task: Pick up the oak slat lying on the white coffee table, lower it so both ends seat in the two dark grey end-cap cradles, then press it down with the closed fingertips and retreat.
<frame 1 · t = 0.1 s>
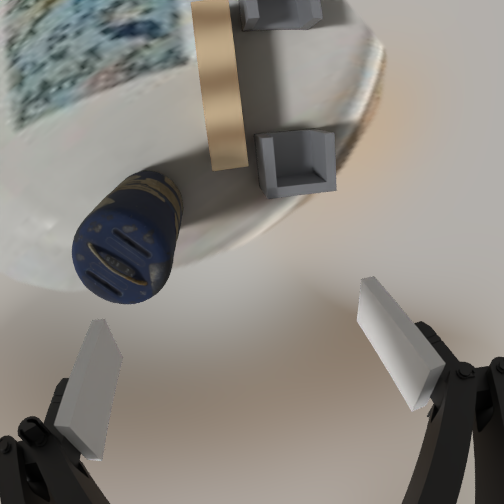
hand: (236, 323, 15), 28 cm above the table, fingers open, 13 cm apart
slat: (217, 84, 34), on the table
canister: (149, 203, 40), on the table
endcap b: (288, 157, 39), on the table
endcap a: (272, 6, 30), on the table
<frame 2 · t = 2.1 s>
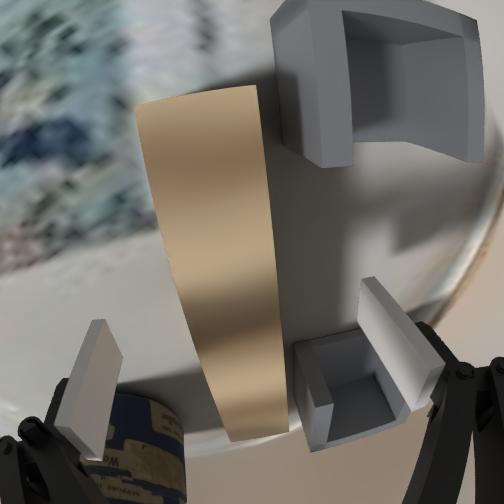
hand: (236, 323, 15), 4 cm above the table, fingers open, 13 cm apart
slat: (227, 268, 19), on the table
canister: (134, 413, 25), on the table
endcap b: (342, 361, 24), on the table
endcap a: (351, 79, 14), on the table
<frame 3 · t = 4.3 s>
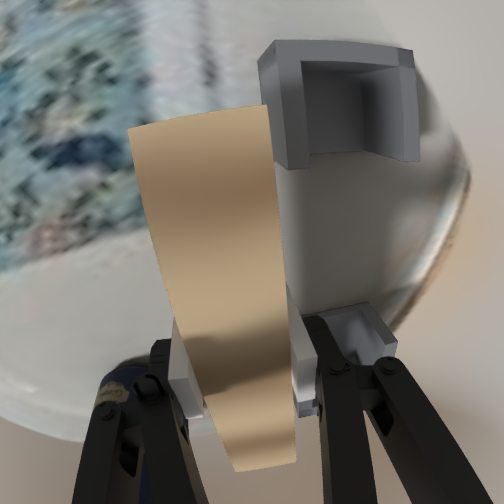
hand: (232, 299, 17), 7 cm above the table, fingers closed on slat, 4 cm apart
slat: (232, 297, 18), point 7 cm above the table, touching gripper
canister: (144, 389, 29), on the table
endcap b: (325, 339, 29), on the table
endcap a: (320, 104, 20), on the table
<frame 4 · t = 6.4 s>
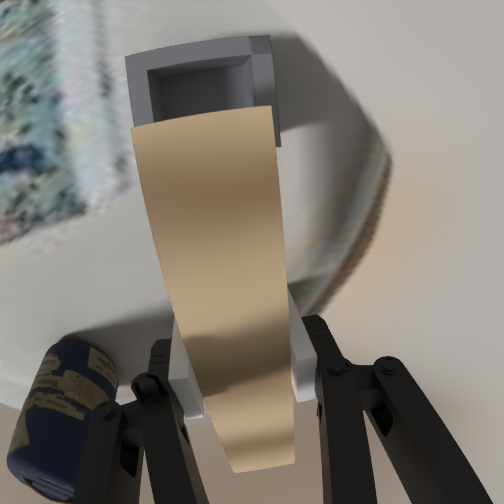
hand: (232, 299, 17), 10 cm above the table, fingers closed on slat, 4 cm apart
slat: (232, 298, 18), point 10 cm above the table, touching gripper
canister: (84, 363, 31), on the table
endcap a: (204, 100, 21), on the table
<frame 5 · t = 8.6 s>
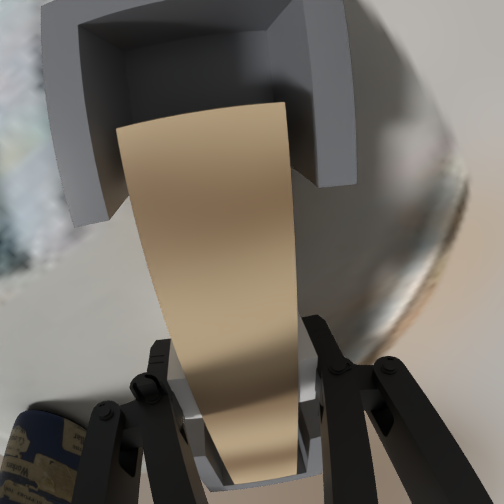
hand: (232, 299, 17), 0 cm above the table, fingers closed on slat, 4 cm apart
slat: (233, 307, 16), point 1 cm above the table, touching endcap a, endcap b, gripper
canister: (62, 429, 22), on the table
endcap b: (250, 402, 22), on the table
endcap a: (200, 88, 12), on the table
when the fingers open (0 cm above the table, at t = 8.7 s): slat stays where it is, resting on endcap a, endcap b.
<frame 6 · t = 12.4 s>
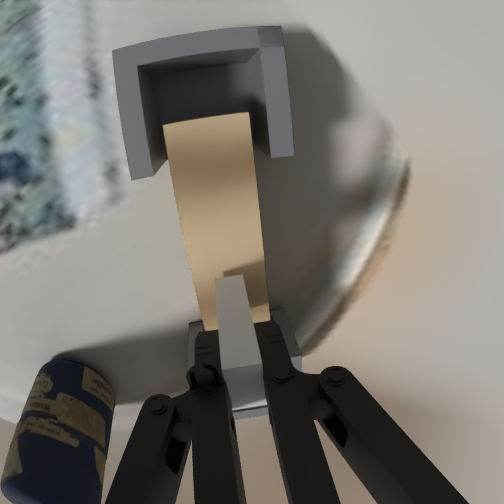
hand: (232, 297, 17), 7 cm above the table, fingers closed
slat: (226, 253, 23), point 1 cm above the table, touching endcap a, endcap b
canister: (79, 381, 29), on the table
endcap b: (241, 344, 28), on the table
endcap a: (204, 101, 19), on the table
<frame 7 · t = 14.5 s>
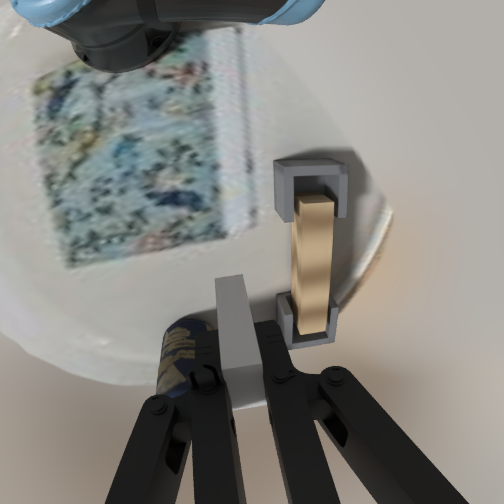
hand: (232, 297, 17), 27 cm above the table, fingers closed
slat: (304, 256, 47), point 1 cm above the table, touching endcap a, endcap b
canister: (191, 336, 51), on the table
endcap b: (301, 308, 52), on the table
endcap a: (303, 183, 43), on the table
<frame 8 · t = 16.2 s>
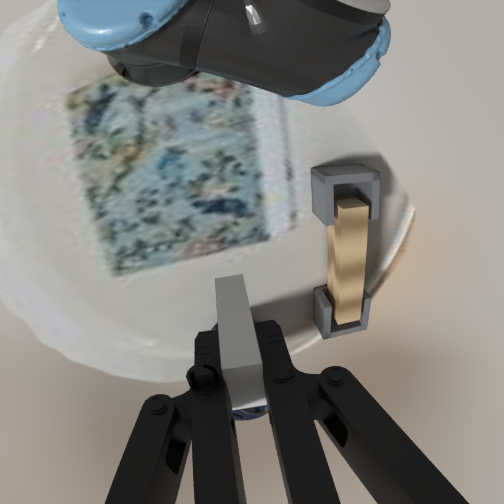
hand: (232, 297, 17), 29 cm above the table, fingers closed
slat: (339, 253, 50), point 1 cm above the table, touching endcap a, endcap b
canister: (234, 332, 56), on the table
endcap b: (335, 299, 56), on the table
endcap a: (337, 187, 46), on the table
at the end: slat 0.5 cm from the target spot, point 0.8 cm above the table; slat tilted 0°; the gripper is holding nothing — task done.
